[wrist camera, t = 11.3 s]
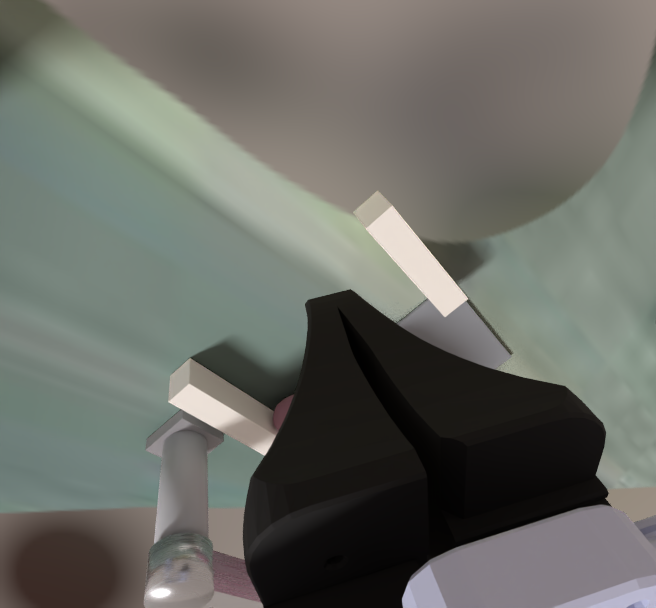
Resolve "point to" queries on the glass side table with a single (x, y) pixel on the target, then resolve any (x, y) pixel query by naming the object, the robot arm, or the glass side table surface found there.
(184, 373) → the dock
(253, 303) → the glass side table surface
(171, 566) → the orange and grey bar
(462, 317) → the mat
